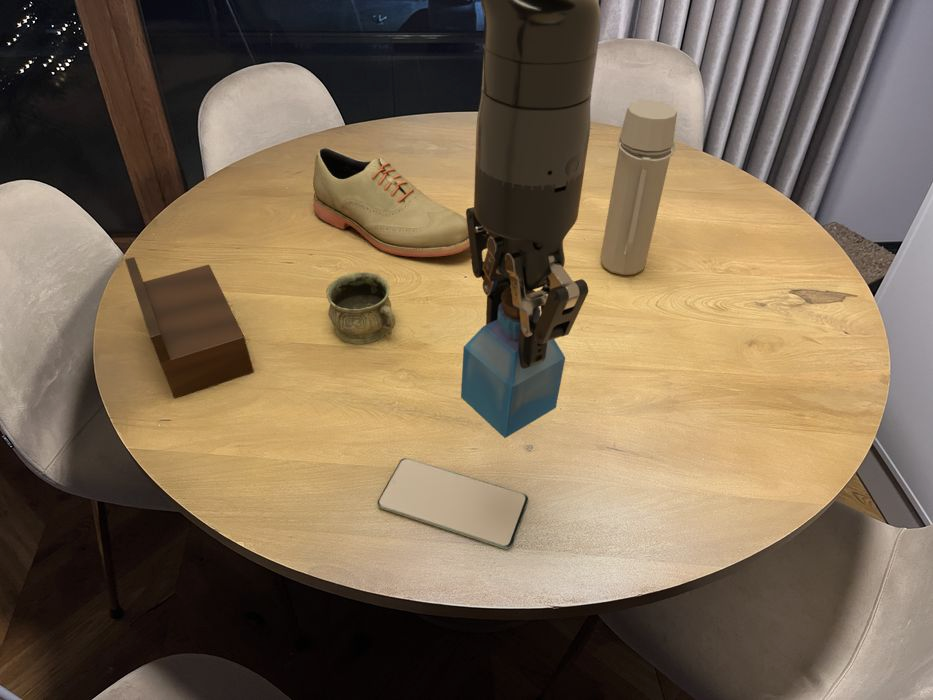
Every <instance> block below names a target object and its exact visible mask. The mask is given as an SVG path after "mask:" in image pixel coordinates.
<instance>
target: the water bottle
mask: <svg viewBox="0 0 933 700" xmlns="http://www.w3.org/2000/svg"><path fill="white" fill-rule="evenodd" d="M624 116H625V117H624V119H623V123H622V127H621V130H620V133H619V137H618V138H617V147H618V152H617V158H616V163H615V169H614V175H613V181H612V185H611V186H612V187H611V192H610V197H609V204H608V210H607V215H606V222H605V228H604V232H603V238H602V239H603V240H602V246H601V251H600V257H599V260H600V262H601V264H602V266H603V268H604V269H606V270H608V271H609V272H610V273H612V274H616V275H621V276H631V275H635V274H637V273H640V272H641V271H643V270H644V269H645V266H646V264H647V261H648V256H649V252H650V249H651V243H652V239H653V238H652V237H653V234H654V231H655V230H654V229H655V226H656V221H657V216H658V211H659V207H660V203H661V198H662V195H663V190H664V186H665V182H666V177H667V172H668V168H669V164H670V160H671V157H673V155H674V153H675V152H676V142H675V132H676V125H677V124H676V123H677V116H678V111H677V109H676V107H674V106H673V105H671V104H668V103H666V102H664V101H658V100H653V99H651V100H650V99H648V100H647V99H646V100H643V99H642V100H637V101H634V102H630V104H629V105H628V106H627V109H626V111H625V115H624Z"/></svg>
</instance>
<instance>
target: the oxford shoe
mask: <svg viewBox="0 0 933 700" xmlns="http://www.w3.org/2000/svg"><path fill="white" fill-rule="evenodd" d="M315 155H316V156H315V159H314V171H313V177H312V178H313V180H312V187H313V192H314V193H313V200H312V203H313V205H312V206H313V211H314V214H315V215H316V216H317V217H318V218H319V219H321V220H322V221H324V222H326V223H327V224H329V225H331V226H333V227H336V228H338V229H340V230H345V229H349V227H352V228H353V229H354V230H356V231H357V232H358V233H359V234H360V235H361V236H363V237H364V238H365V239H366V240H367V241H368V242H369V243H370V244H372V245H373V246H374V247H376V248H377V249H379V250H381V251H382V252H385V253H388V254H391V255H396V256H403V257H410V258H411V257H412V258H413V257H414V258H431V257H432V258H434V257H443V256H444V257H445V256H452V255H456V254H459V253H461V252H464V251H467V250H468V249H470V244H469V235H468V227H467V218H466V216H464V215H462V214H460V213H458V212H457V211H454V210H452V209H450V208H448V207H446V206H444V205H441V204H439V203H438V202H437V201H434V200H433V199H431V198H430V197H428V196H427V195H426V194H425V193H424V192H423V191H421V189H418V188H417V187H416V186H415V185H414V184H413V183H412V182H410V181H409V180H408V179H407V178H406V177H405V176H404V175H403V174H402V173H400V172H399V171H398V170H397V169H396V168H394V167H393V165H391V163H390V162H388V161H387V160H386V159H385V158H383V157H379V158H374V159H373V160H361V159H357V158H355V157H352V156H349V155H347V154H344V153H342V152H340V151H337V150H334V149H332V148H329V147H321V148H319V149H318V150H317V152H316V154H315Z"/></svg>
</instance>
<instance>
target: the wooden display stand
mask: <svg viewBox="0 0 933 700" xmlns="http://www.w3.org/2000/svg"><path fill="white" fill-rule="evenodd" d="M124 262H125V265H126V268H127V271H128V274H129V277H130V280H131V283H132V286H133V289H134V293H135V295H136V299H137V301H138V305H139V307H140V311H141V314H142V317H143V320H144V323H145V327H146V329H147V333H148V336H149V338H150V341H151V343H152V346H153V348H154V351H155V354H156V357H157V359H158V361H159V364H160V367H161V369H162V371H163V375H164V377H165V379H166V382H167V385H168V387H169V389H170V393H171V394H172V398H173V399H177V398H180V397H183V396H185V395H190V394H192V393H195V392H198V391H200V390H203V389H207V388H209V387H213V386H217V385H219V384H223V383H225V382H228V381H232V380H234V379H237V378H240V377H243V376H246V375H249V374H252V373H254V367H253V364H252V360H251V356H250V354H249V349H248V346H247V342H246V338H245V335H244V333H243V331H242V329H241V326H240V325H239V322H238V321H237V319H236V317H235V314H234V312H233V311H232V309H231V306H230V305H229V302H228V300H227V298H226V296H225V294H224V292H223V290H222V288H221V286H220V284H219V282H218V280H217V277H216V276H215V275H216V274H215V273H214V271H213V270H212V266H211V265H210V264H205V265H202V266H198V267H195V268H191V269H190V268H189V269H186V270H183V271H179V272H175V273H171V274H168V275H164V276H160V277H156V278H153V279H149V280H144V279H143V276H142V273H141V271H140V268H139V266H138V263H137V260H136V258H135V257H134V256H132V257H129V258H125V259H124Z"/></svg>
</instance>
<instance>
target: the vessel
mask: <svg viewBox="0 0 933 700" xmlns="http://www.w3.org/2000/svg"><path fill="white" fill-rule="evenodd" d="M325 292H326V299H327V301H328V303H329V307H328V317H329V320H330V322H331V324H332V325H333V326H334V327H335V332H336V334H337V337H338V338H340V339H341V340H342V341H344V342H347V343H349V344H350V343H351V344H356V345H358V344H359V345H365V344H369V343H370V344H371V343H373V342H376V341H379V340H380V339H382V338H383V337H384V336H385V335H386V336H392V333H393V332H392V331H393V329H394V328H395V326H396V317H395V315H394V313H393V311H392V302H391V300H390V297H389V295H390V284H389V282H388V280H387V279H386V278H384V277H383V276H381V275H380V274H377V273H373V272H367V271H366V272H365V271H358V272H353V273H347V274H343V275H341V276H339V277H337V278H335V279H333V281H331V283H329V284H328V286H327V287H326V291H325ZM389 322H390V323H389Z"/></svg>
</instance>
